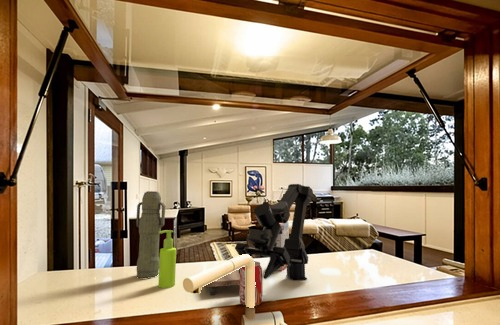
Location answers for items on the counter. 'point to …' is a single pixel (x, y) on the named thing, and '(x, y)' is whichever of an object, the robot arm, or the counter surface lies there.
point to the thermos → (149, 234)
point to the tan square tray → (224, 282)
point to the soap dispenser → (167, 262)
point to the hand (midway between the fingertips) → (251, 275)
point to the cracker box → (282, 239)
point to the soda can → (258, 285)
